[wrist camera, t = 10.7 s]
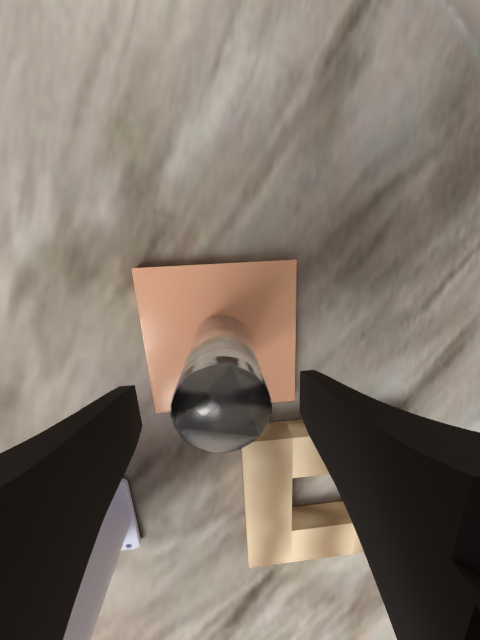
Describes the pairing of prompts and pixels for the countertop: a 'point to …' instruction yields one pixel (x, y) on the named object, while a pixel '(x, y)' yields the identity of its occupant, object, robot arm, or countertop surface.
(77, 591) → the robot arm
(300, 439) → the bore block
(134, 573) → the countertop surface
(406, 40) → the countertop surface
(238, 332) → the glass jar
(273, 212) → the countertop surface
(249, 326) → the coaster
